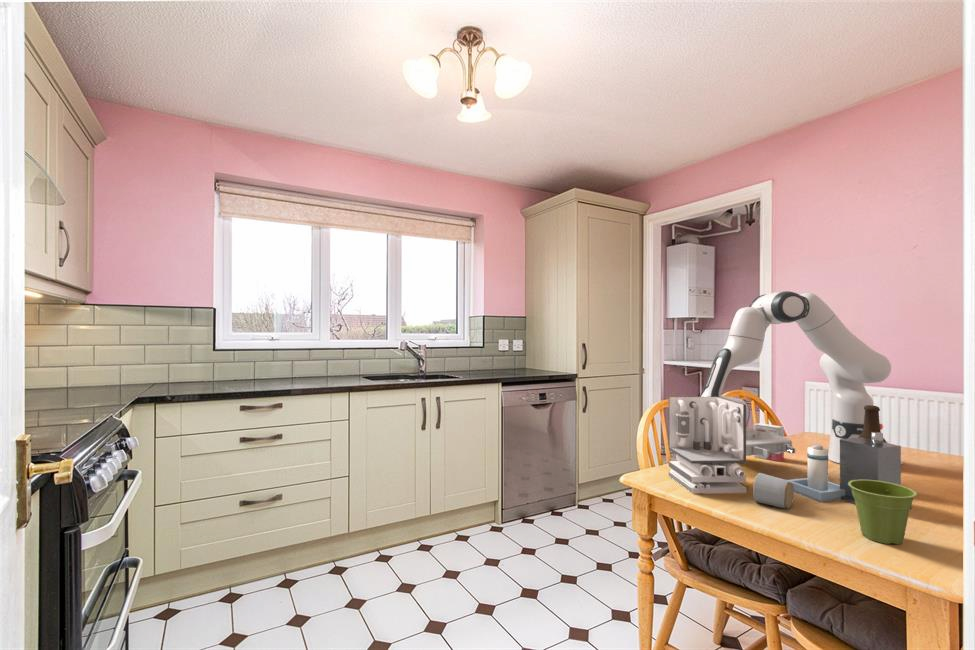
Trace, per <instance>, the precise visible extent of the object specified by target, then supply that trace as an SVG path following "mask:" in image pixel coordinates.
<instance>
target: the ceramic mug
mask: <svg viewBox="0 0 975 650" xmlns="http://www.w3.org/2000/svg"><path fill="white" fill-rule="evenodd" d="M787 480H788V479H784V478H780V477H776V476H773V475H769V474H766V473H762V472H758V473H757V474H756V475H755V477H754V481H753V487H752V488H753V489H752V497H753V500H754V501H755V502H756V503H760V504H763V505H768V506H773V507H777V508H781V509H789V508H791V507H792V504H793V502H794V497H795V495H794V494H795V492H794V487H793V484H792V483H791V482H789V481H787Z"/></svg>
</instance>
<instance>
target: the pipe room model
mask: <svg viewBox="0 0 975 650" xmlns="http://www.w3.org/2000/svg"><path fill="white" fill-rule="evenodd" d="M746 428H747V427H746V405H745V404H741V403H738V402H734V401H731V400H727V399H724V398H720V397H699V396H668V451H671V452H672V453H674V454H675V455H676V456H675V457H676V460H674V461H673V460H670V461H668V467H669V468H670V471H668V477H669V476H670V477H671V478H670V477H669V478H670V479H672V478H673V479H674V480H675V482H676V481H677V482H678V483H679V484H678V483H677V482H676V483H677V484H678V485H680V484H681V485H682V486H683V487H685V488H686V489H687V490H689V491H690V492H691V493H703V494H747V487H746V486H744V485H743V484H740V483H746V482H747V476H746V475H745V473H744V470H743V468H742V465H740V464H746V463H747V456H746ZM673 479H672V480H673ZM674 480H673V481H674ZM681 485H680V486H681ZM682 486H681V487H682ZM683 487H682V488H683ZM685 488H684V489H685ZM686 489H685V490H686ZM687 490H686V491H687ZM689 491H688V492H689ZM690 492H689V493H690ZM691 493H690V494H691Z"/></svg>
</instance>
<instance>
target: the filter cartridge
mask: <svg viewBox="0 0 975 650" xmlns="http://www.w3.org/2000/svg"><path fill="white" fill-rule="evenodd" d="M806 448H807V449H806V450H807V451H806V454H807V458H806V459H807V478H808V487H810V488H812V489H815V490H818V491H828V481H829V459H828V452H829V448H825V447H823V445H819V444H813V445H812V446H808V447H806Z"/></svg>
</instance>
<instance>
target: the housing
mask: <svg viewBox="0 0 975 650" xmlns="http://www.w3.org/2000/svg"><path fill="white" fill-rule="evenodd" d="M883 438H884V433H883V432H881V433H880V432H871V439H866V438H862V437H861V438H849V439H840V463H839V485H840V489H844V490H845V496H841V500H840V501H843V502H846V503H850V504H852V505H854V506H856V503H855V498H854V497H853V494H852V489H851V487H850V486H849V485H848V482H849V481H852V480H877V481H883V482H889V483H893V484H897V485H901V486H902V482H901V481H902V477H901V476H902V473H901V472H902V466H901V465H902V464H901V461H902V459H901V458H902V456H901V455H902V447H901V445H899V444H894V443H890V442H888V443H885V442H883ZM910 510H912V506H911V507H910Z"/></svg>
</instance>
